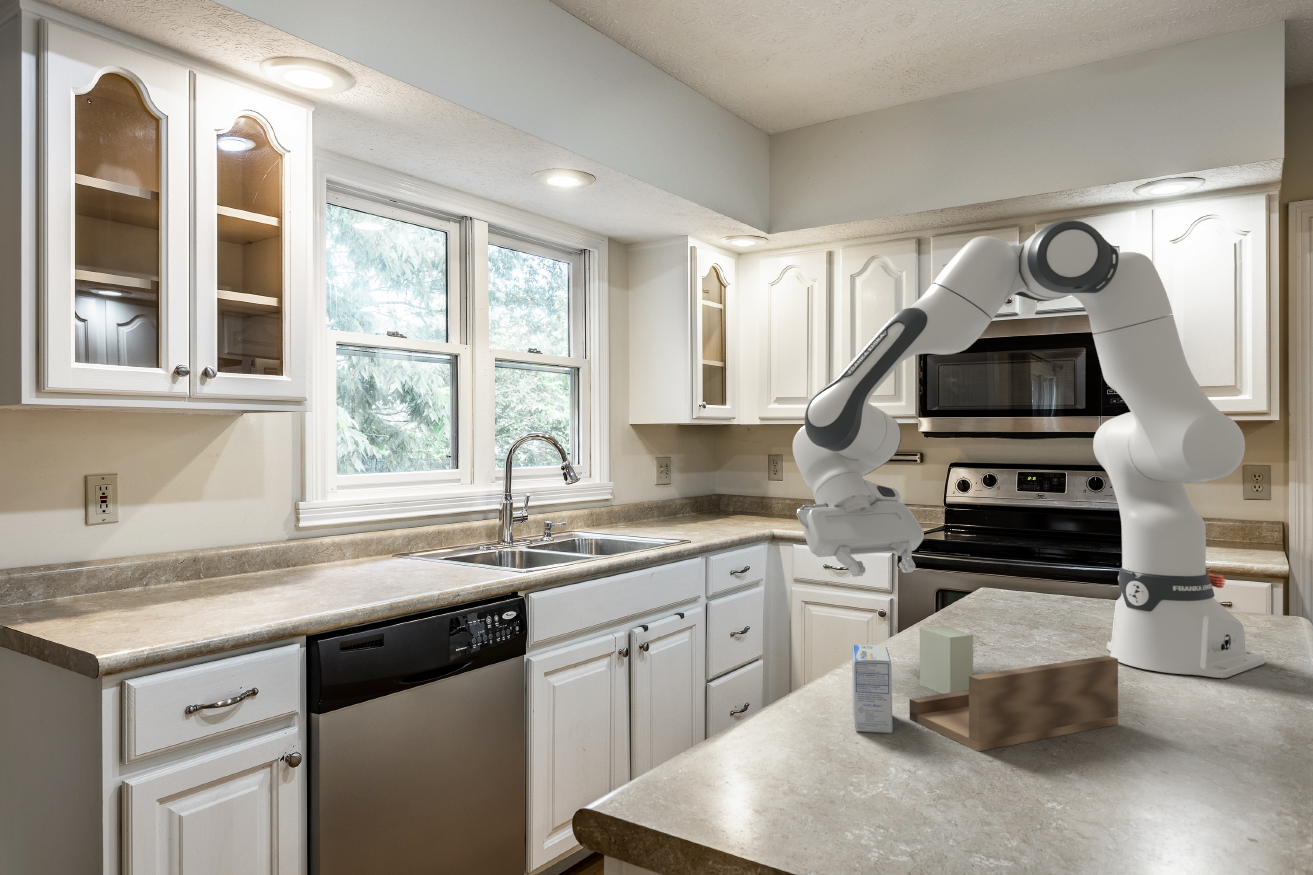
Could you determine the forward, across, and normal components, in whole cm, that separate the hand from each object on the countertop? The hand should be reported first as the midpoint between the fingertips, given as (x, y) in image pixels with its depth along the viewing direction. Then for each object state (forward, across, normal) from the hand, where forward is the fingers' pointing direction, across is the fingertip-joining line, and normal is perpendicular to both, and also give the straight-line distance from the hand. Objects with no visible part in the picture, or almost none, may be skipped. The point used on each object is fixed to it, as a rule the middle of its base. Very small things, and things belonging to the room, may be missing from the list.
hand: (885, 572), depth 128 cm
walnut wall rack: (+29, -2, -9) cm, 30 cm away
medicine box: (+24, -18, -4) cm, 31 cm away
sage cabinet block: (+19, 0, +1) cm, 19 cm away
